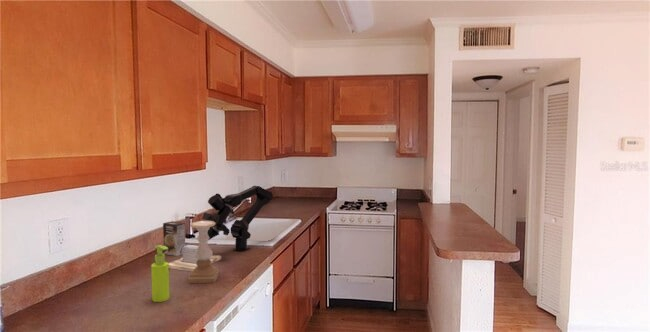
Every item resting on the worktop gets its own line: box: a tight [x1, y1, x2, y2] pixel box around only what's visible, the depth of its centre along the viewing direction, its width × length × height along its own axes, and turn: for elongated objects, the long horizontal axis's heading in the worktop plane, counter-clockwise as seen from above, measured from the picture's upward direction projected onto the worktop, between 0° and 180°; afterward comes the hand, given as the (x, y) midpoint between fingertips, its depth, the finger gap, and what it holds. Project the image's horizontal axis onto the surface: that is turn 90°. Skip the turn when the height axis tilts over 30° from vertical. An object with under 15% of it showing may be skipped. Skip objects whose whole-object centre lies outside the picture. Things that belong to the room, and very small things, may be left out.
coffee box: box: [162, 220, 186, 257], centre depth 197 cm, size 9×6×16 cm
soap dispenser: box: [150, 244, 170, 303], centre depth 140 cm, size 6×7×20 cm
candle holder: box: [187, 220, 220, 284], centre depth 161 cm, size 11×11×24 cm
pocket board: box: [168, 254, 222, 273], centre depth 182 cm, size 20×16×2 cm
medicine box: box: [181, 244, 199, 264], centre depth 180 cm, size 8×4×9 cm, turn 69°
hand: (203, 242), depth 185 cm, fingers closed
